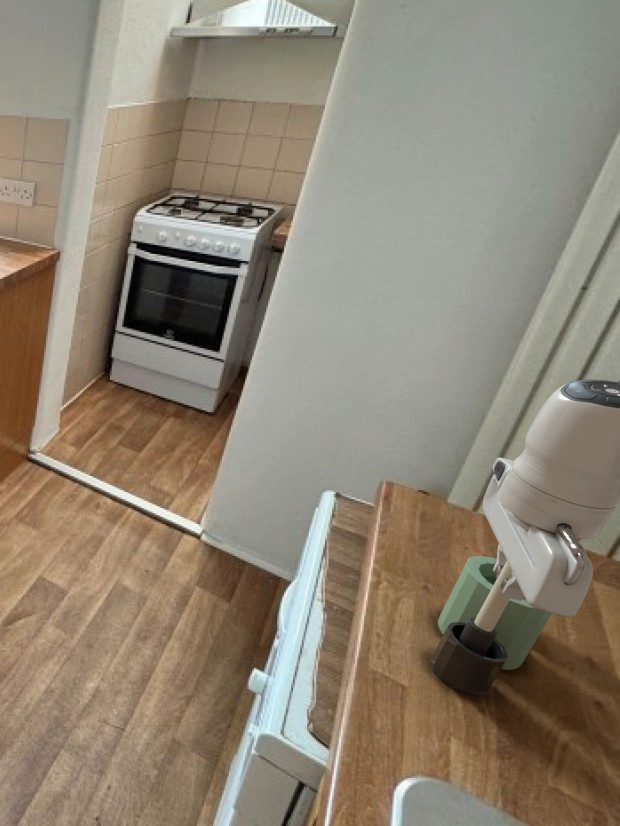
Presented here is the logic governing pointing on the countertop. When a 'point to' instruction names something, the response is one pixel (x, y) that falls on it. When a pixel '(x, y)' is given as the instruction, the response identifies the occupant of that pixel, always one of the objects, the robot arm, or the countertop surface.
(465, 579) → the jar
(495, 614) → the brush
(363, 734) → the countertop surface
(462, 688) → the holder
